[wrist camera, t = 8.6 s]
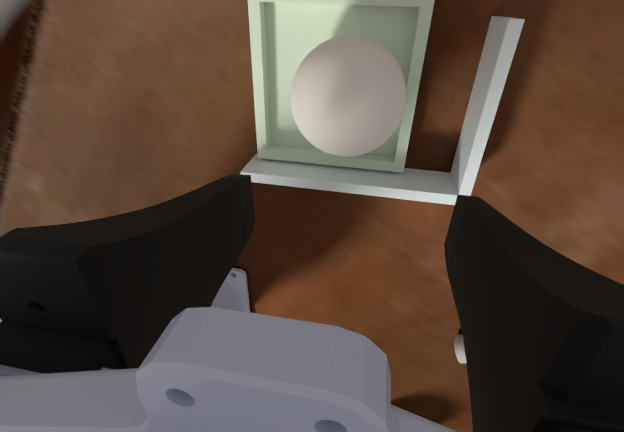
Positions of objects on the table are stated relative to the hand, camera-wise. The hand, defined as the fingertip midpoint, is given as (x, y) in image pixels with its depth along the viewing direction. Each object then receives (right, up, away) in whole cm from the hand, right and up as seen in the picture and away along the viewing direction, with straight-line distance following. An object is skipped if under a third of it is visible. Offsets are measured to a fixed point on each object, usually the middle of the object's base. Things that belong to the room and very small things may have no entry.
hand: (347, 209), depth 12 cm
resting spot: (0, +7, +7) cm, 10 cm away
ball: (0, +7, +7) cm, 10 cm away
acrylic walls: (+1, +6, +8) cm, 10 cm away
